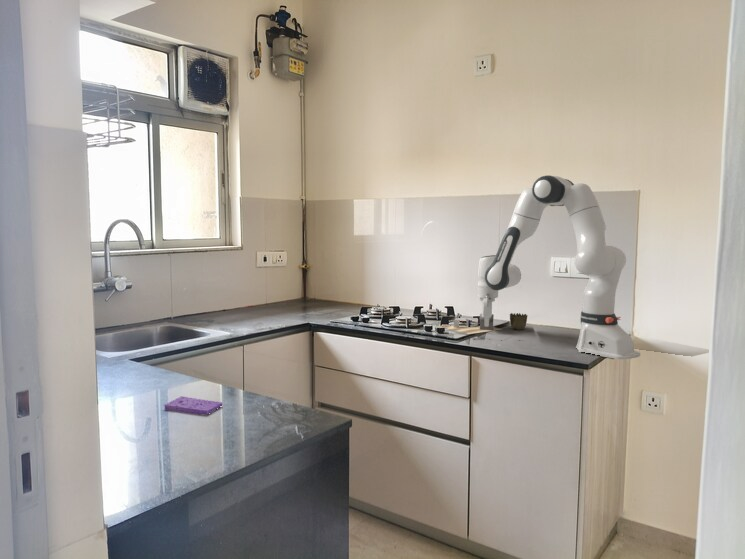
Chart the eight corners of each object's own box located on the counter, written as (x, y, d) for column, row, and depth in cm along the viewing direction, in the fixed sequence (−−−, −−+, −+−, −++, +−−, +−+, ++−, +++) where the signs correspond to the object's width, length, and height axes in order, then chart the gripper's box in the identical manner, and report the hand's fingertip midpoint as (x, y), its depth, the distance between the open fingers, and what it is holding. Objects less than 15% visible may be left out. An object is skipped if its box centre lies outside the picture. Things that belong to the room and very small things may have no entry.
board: (502, 332, 245) (503, 329, 245) (468, 337, 234) (468, 333, 234) (470, 325, 261) (470, 321, 261) (436, 329, 250) (436, 325, 250)
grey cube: (492, 327, 248) (493, 313, 248) (493, 330, 243) (493, 315, 242) (479, 326, 249) (479, 312, 249) (479, 329, 244) (479, 314, 243)
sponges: (181, 402, 148) (181, 395, 148) (223, 408, 145) (223, 401, 144) (163, 411, 142) (163, 404, 142) (207, 417, 138) (207, 410, 138)
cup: (527, 334, 241) (528, 316, 241) (509, 333, 243) (510, 315, 242) (526, 331, 249) (526, 313, 248) (508, 330, 250) (509, 312, 249)
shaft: (459, 326, 249) (459, 319, 249) (459, 327, 247) (459, 320, 247) (453, 326, 250) (454, 319, 249) (453, 327, 247) (453, 320, 247)
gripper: (495, 296, 234) (494, 329, 235) (494, 290, 254) (493, 321, 255) (480, 295, 235) (478, 328, 236) (480, 289, 255) (479, 320, 256)
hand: (486, 324), depth 246 cm, fingers closed on grey cube, 6 cm apart
